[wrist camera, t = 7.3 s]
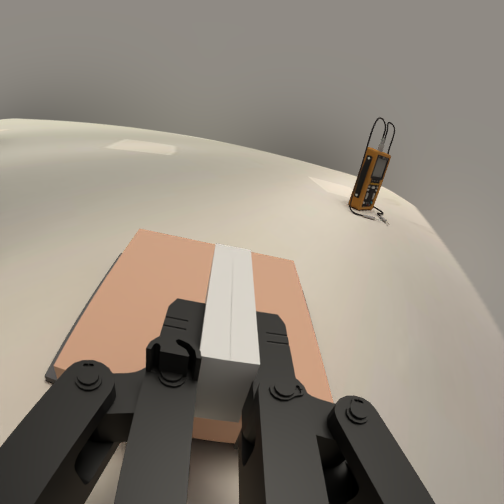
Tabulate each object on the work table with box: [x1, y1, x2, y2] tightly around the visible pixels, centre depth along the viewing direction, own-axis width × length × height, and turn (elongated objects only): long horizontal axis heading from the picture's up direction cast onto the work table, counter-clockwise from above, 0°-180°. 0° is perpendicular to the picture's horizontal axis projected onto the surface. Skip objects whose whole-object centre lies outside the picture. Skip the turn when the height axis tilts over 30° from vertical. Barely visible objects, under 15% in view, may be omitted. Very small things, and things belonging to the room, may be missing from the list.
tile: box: [54, 229, 333, 443], centre depth 18 cm, size 3×12×14 cm
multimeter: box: [348, 118, 395, 225], centre depth 58 cm, size 15×10×20 cm
